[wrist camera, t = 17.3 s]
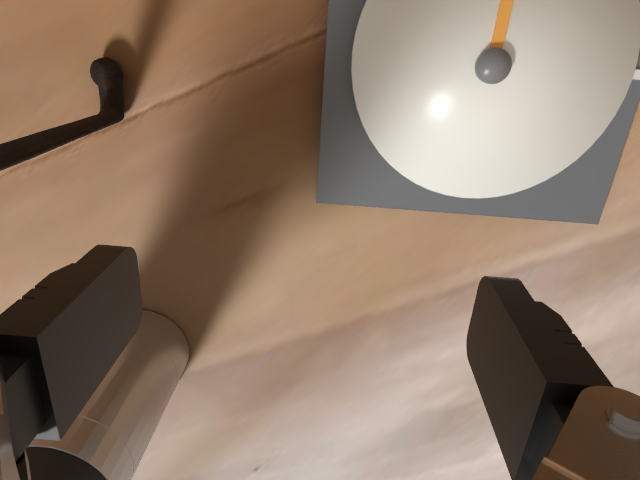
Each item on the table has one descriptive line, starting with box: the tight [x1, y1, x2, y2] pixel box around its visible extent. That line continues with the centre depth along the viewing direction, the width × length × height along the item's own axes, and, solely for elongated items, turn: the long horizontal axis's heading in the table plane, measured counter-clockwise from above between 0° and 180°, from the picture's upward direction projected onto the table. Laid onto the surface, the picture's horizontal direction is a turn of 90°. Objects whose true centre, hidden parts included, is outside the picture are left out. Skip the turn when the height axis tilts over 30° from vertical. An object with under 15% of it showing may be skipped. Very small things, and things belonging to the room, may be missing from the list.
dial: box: [351, 0, 640, 199], centre depth 31 cm, size 20×20×8 cm
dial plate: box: [316, 0, 640, 224], centre depth 36 cm, size 24×24×2 cm
